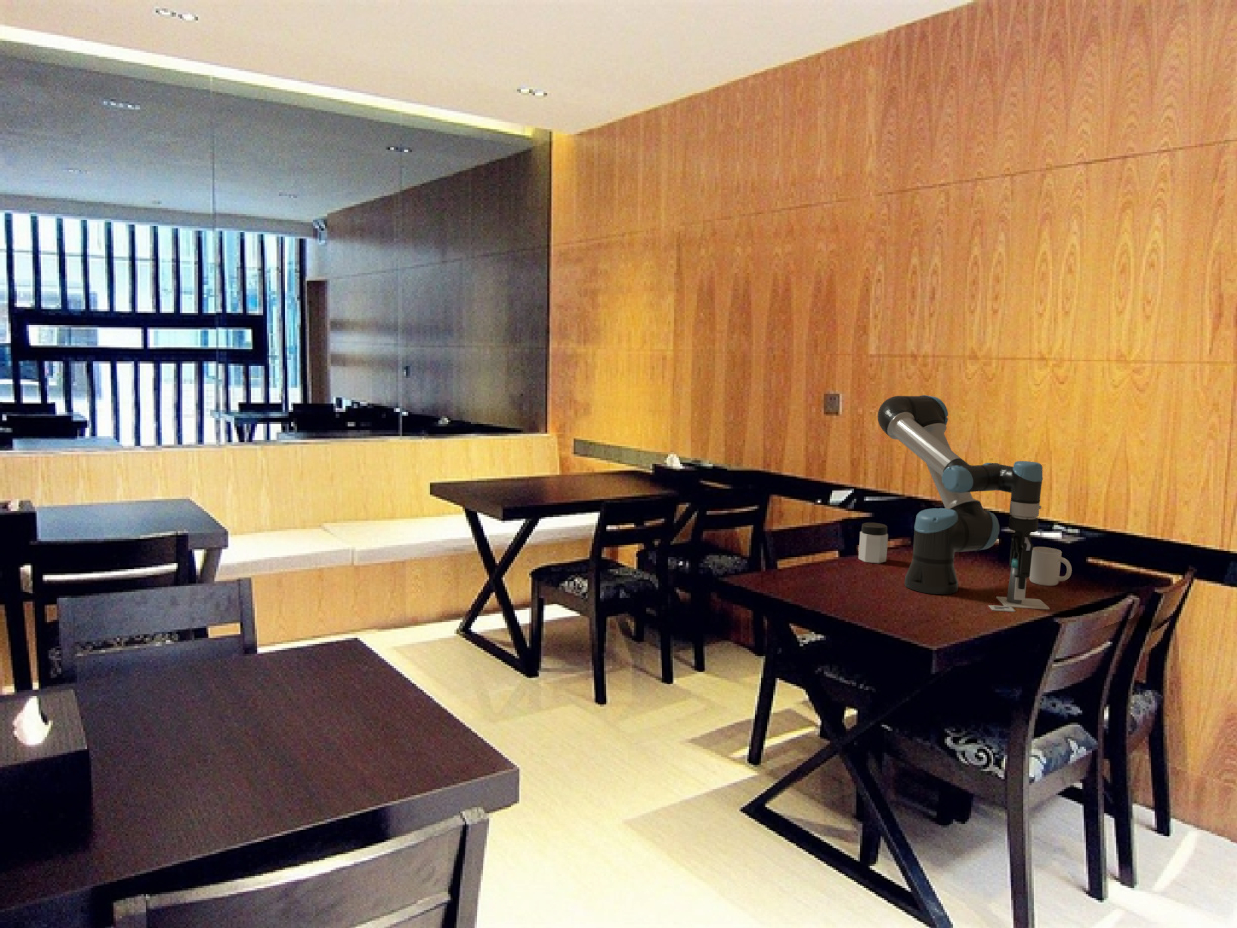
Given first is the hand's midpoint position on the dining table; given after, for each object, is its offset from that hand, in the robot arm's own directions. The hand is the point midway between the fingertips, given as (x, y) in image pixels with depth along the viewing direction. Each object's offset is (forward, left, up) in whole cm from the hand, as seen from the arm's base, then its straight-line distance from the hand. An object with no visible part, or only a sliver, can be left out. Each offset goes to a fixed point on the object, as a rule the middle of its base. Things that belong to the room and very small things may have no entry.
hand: (1017, 597), depth 256 cm
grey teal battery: (-1, 0, -1) cm, 2 cm away
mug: (+17, +24, -2) cm, 29 cm away
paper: (+2, 0, -2) cm, 2 cm away
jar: (-34, +41, -2) cm, 53 cm away
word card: (-6, -7, -2) cm, 9 cm away
